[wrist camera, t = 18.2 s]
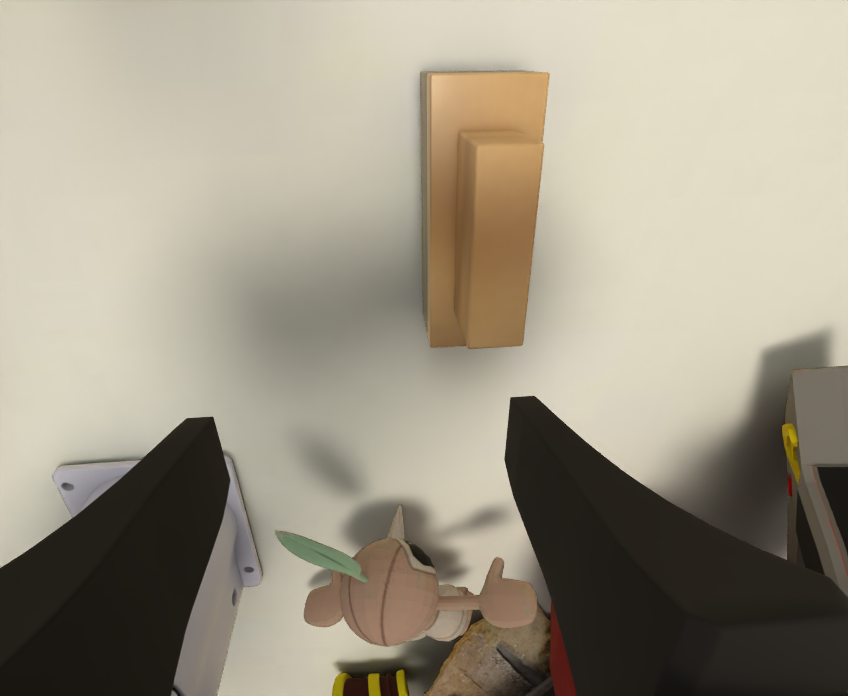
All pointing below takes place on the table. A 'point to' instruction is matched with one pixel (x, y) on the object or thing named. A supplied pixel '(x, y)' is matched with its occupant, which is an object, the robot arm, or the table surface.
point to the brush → (479, 202)
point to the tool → (818, 471)
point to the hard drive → (543, 689)
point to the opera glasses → (371, 685)
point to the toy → (404, 592)
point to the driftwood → (497, 660)
